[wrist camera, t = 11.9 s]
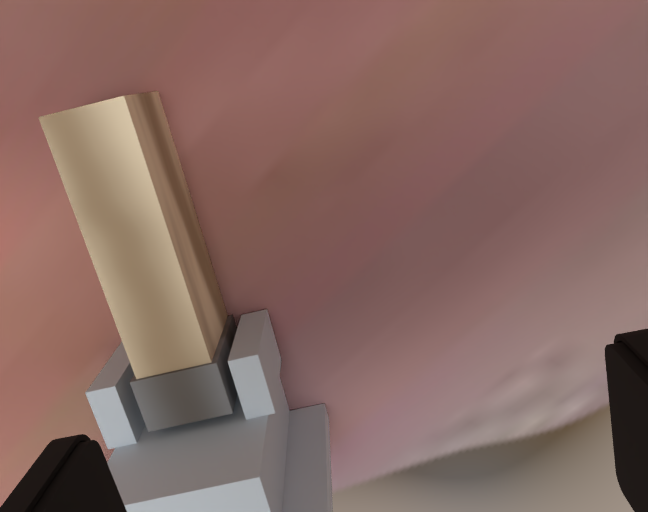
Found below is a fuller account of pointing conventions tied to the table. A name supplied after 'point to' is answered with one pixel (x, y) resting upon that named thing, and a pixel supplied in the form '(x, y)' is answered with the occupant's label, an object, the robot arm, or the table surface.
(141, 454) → the gray forked clamp
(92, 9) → the table surface
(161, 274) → the tan and gray block
